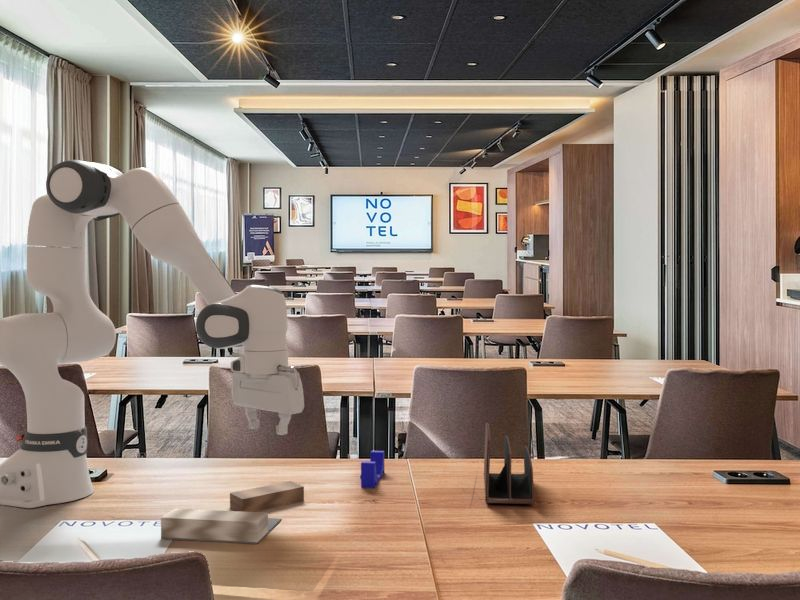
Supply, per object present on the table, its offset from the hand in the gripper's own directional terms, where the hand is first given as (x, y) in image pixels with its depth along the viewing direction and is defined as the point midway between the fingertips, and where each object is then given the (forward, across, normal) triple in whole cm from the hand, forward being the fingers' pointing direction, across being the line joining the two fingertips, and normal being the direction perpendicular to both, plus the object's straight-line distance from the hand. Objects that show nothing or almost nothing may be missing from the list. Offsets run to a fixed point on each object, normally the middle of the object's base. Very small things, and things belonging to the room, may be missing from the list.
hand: (267, 431), depth 149 cm
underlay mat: (+15, -6, +15) cm, 22 cm away
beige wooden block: (+15, -8, +18) cm, 25 cm away
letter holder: (+16, -30, -42) cm, 54 cm away
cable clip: (+16, -3, -26) cm, 31 cm away
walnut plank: (+15, 0, 0) cm, 16 cm away
